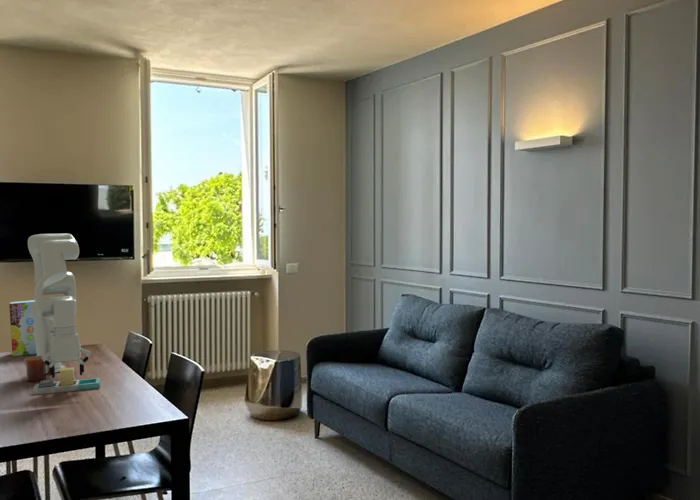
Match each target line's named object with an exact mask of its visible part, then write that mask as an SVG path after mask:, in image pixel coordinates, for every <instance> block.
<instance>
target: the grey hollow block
mask: <svg viewBox="0 0 700 500" xmlns="http://www.w3.org/2000/svg"><path fill="white" fill-rule="evenodd" d="M54 382H55V379H54V378H52V379H47V380H41V382H39V383H40V388H43V387H54V386H55V383H54Z"/></svg>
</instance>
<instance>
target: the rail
mask: <svg viewBox="0 0 700 500" xmlns="http://www.w3.org/2000/svg"><path fill="white" fill-rule="evenodd" d="M54 383H55V386H54V387H43V388H40V382H38V383H34V386H33V388H32V395H33V396H35V395H44V394H52V393H65V392H73V391H85V390H96V389H97V390H98V389H101V377H95V378H83V379H82V378H81V379H74V384H75V385H65V386H61V381H54Z"/></svg>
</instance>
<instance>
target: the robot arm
mask: <svg viewBox="0 0 700 500" xmlns="http://www.w3.org/2000/svg"><path fill="white" fill-rule="evenodd" d="M27 249H28V251H29V255H31V258H32V260H33V266H34V285H35V288H34V293H33V294H34V300H35V301H34V303H33V305H32V311H33V316H34V321H35V331H36V353H37V354H36V356H42V357H41V358H42V359H43V361H44V363H45V364H46V367H47V373H48V371H49V367H50V374H49V375H50V376H52V377H51V378H52V379H54V378H55V377H56V373H60V370H61V368H66V365H63V364H62V363H65V362H78V363H79V376H83V373H84V372H85V363H86V362H88V360H89V359H90V356H91V355H92V352H91V351H90V350H88V349H85V348H82V347H81V340H80V339H81V338H80V336H79V333H78V332H77V320H76V319H77V318H76V314H77V309H78V308H77V307H78V306H77V305H78V304H77V284H76V277H75V275H74V273H72V272H71V271H68V270H67V264H66V261H68V260H76V259H78V257H79V255H80V247H79V244H78V241H77V240H76V239H75V237H74V236H73V235H72V234H71V233H67V232H66V233H63V232H62V233H39V234H33V235H31V236H30V235H29V237H28V238H27ZM43 295H44V296H46V295H47V296H48V295H58V296H48V297H47V296H46V297H44V296H43ZM59 295H62V296H59ZM53 320H54V322H53ZM82 354H85V357H84V358H82ZM46 357H48V360H50V361H51V362H50V361H48V360H47V358H46Z"/></svg>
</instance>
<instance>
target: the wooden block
mask: <svg viewBox="0 0 700 500" xmlns="http://www.w3.org/2000/svg"><path fill="white" fill-rule="evenodd" d="M59 374H60V375H59V376H60V377H59V378H60V379H59V380H60V381H59V382H61V386H65V385H75V384H74V380H75V367H74V366H73V367H65V368H61V370H60V372H59Z"/></svg>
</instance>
